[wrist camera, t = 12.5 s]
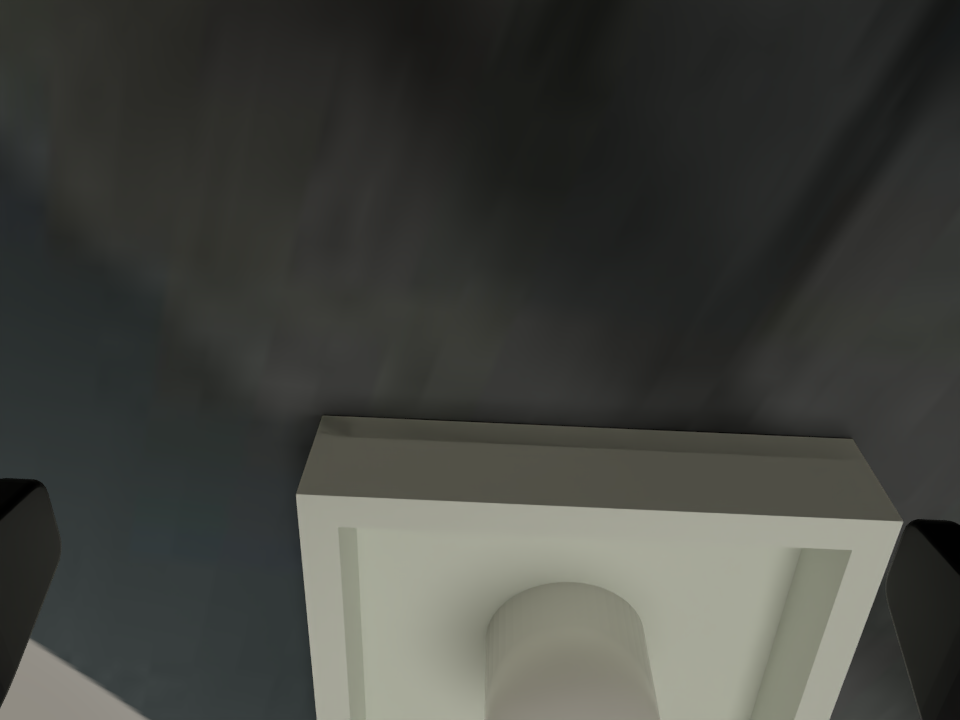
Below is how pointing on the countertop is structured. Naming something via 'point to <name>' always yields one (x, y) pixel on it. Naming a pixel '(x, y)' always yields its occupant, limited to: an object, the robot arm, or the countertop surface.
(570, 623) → the cylinder
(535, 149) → the countertop surface
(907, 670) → the robot arm
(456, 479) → the sage tray
